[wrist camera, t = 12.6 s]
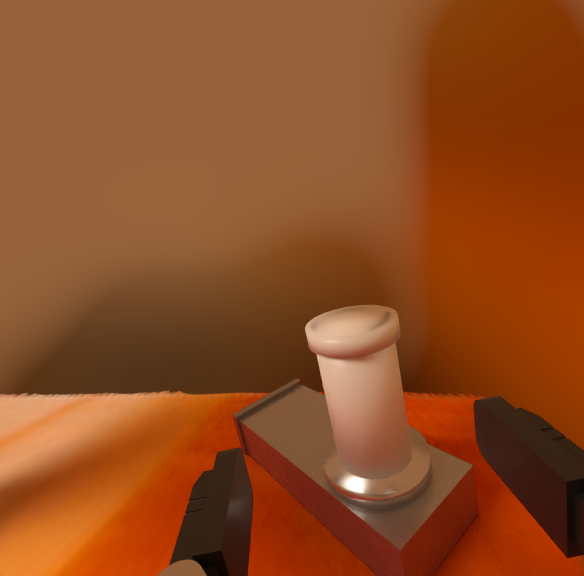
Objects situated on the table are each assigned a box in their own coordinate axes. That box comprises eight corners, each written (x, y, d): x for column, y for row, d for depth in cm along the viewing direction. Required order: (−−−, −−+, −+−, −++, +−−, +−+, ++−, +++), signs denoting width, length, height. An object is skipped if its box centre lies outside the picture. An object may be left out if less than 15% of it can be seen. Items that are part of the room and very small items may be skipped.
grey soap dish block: (242, 451, 35) (230, 407, 34) (304, 411, 40) (295, 372, 39) (408, 609, 19) (394, 535, 18) (479, 511, 24) (472, 448, 23)
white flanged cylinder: (315, 455, 25) (287, 329, 23) (369, 415, 28) (349, 301, 26) (380, 501, 20) (351, 346, 18) (435, 446, 23) (417, 310, 21)
